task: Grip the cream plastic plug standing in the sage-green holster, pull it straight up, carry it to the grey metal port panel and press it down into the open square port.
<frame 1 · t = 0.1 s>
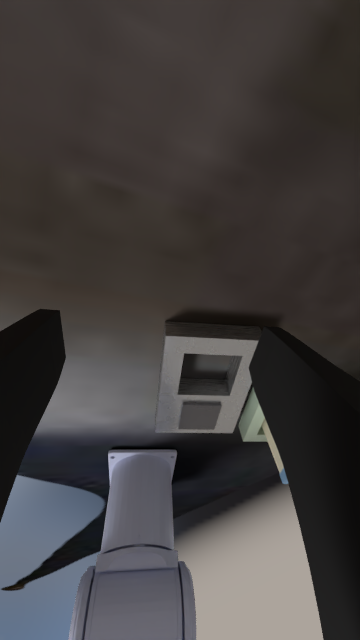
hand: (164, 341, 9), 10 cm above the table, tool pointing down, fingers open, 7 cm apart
plug: (291, 435, 25), in the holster
port panel: (201, 376, 25), on the table
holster: (277, 405, 28), on the table
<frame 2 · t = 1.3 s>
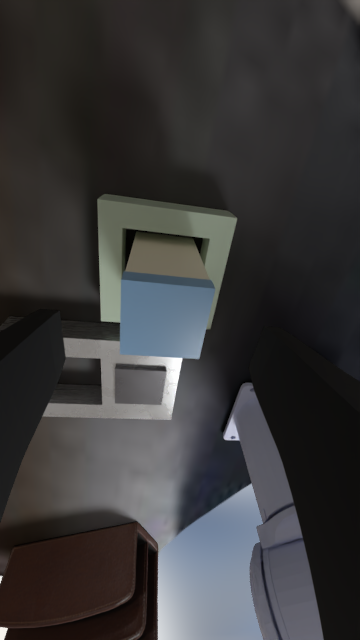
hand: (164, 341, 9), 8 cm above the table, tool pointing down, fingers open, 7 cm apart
letter holder: (89, 541, 41), on the table
plug: (163, 285, 13), in the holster
port panel: (101, 364, 21), on the table
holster: (162, 262, 16), on the table
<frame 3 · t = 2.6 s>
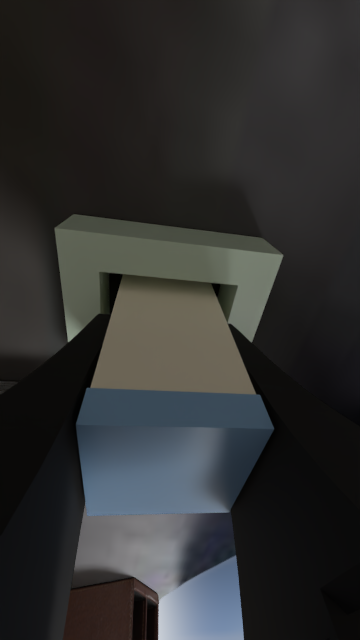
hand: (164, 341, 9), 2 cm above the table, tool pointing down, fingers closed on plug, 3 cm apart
letter holder: (80, 594, 36), on the table
plug: (164, 362, 8), in the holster, touching gripper
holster: (163, 308, 11), on the table
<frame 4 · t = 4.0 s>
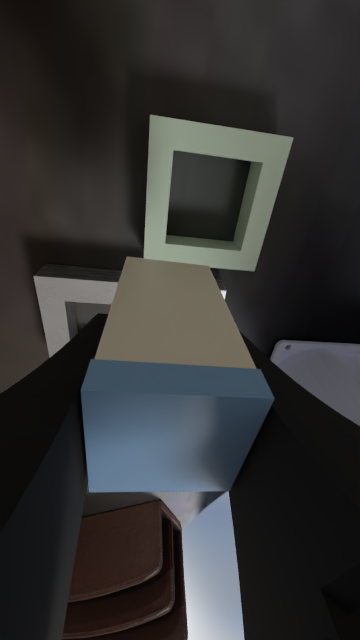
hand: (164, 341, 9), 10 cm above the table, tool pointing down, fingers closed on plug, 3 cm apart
letter holder: (112, 522, 41), on the table
plug: (166, 347, 8), point 10 cm above the table, touching gripper
port panel: (135, 319, 20), on the table
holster: (205, 200, 16), on the table
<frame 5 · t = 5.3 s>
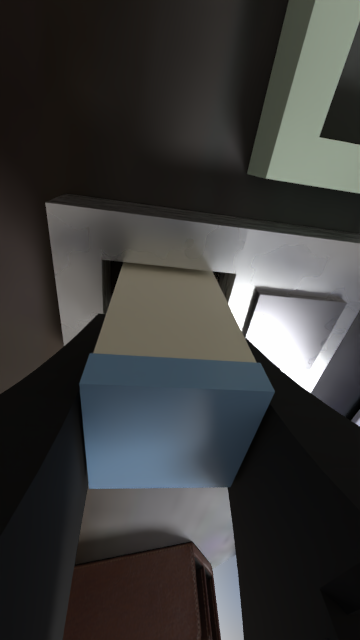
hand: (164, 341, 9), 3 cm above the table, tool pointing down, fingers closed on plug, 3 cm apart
letter holder: (128, 564, 33), on the table
plug: (165, 344, 8), in the port panel, touching gripper
port panel: (205, 303, 12), on the table
when the fingers open (3 cm above the table, at t = 5.7 s): plug stays where it is, resting in port panel.
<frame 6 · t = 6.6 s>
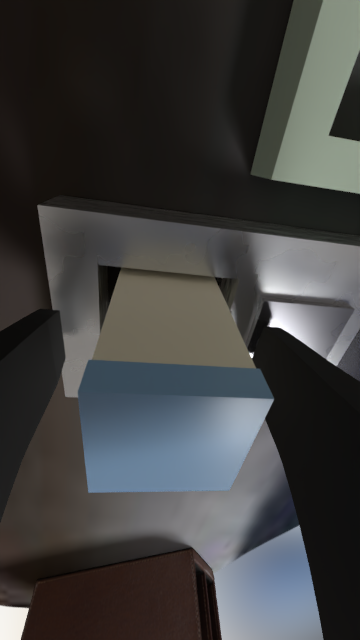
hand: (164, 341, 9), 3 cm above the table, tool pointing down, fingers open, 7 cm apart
letter holder: (129, 570, 33), on the table
plug: (165, 346, 8), in the port panel
port panel: (206, 308, 12), on the table
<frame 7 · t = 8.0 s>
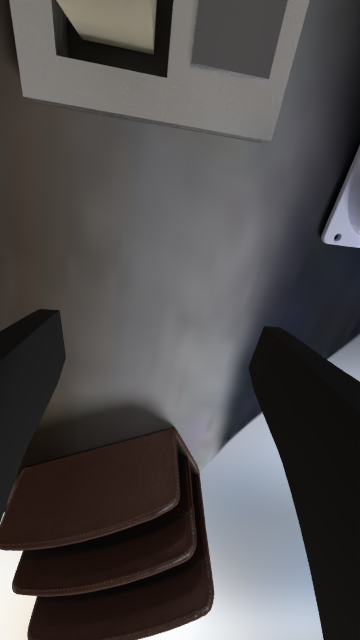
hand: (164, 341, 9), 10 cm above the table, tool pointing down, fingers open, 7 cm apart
letter holder: (115, 464, 33), on the table
port panel: (163, 18, 12), on the table
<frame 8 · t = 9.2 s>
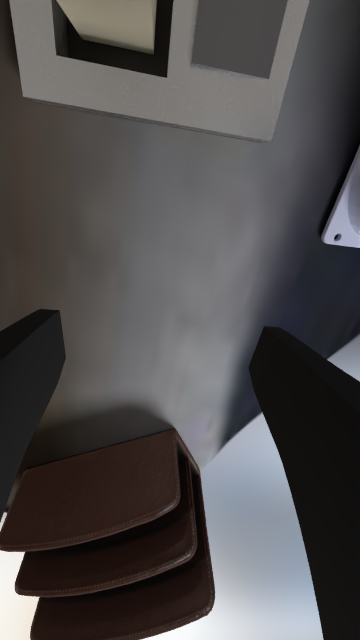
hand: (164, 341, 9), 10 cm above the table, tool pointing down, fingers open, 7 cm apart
letter holder: (116, 465, 33), on the table
port panel: (163, 18, 12), on the table
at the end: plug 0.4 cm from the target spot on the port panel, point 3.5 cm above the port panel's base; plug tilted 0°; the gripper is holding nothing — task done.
